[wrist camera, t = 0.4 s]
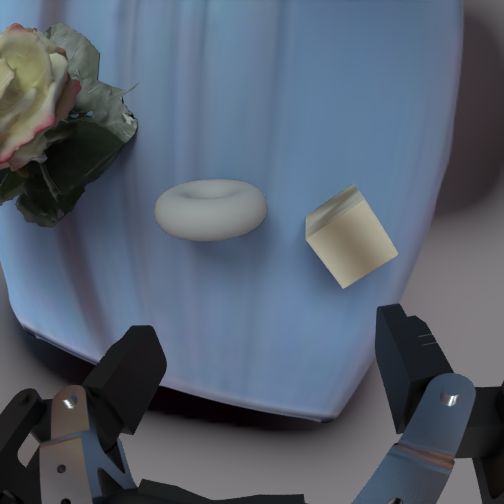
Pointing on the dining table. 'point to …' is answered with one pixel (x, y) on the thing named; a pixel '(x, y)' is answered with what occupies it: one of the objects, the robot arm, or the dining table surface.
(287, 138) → the dining table surface
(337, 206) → the birch cube
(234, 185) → the donut
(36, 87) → the rose bouquet
